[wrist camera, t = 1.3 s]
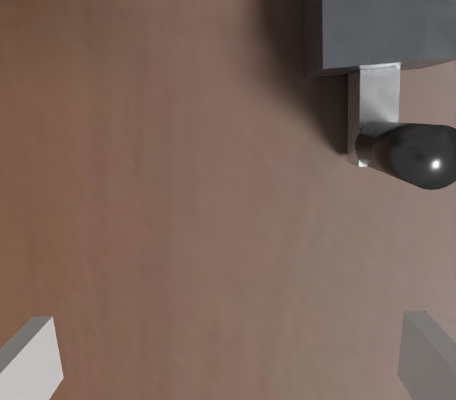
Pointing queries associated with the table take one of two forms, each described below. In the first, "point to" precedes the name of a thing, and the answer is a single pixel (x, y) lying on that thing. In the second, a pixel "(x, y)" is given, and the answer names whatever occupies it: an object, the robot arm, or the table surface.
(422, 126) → the shaft
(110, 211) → the table surface
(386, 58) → the block
